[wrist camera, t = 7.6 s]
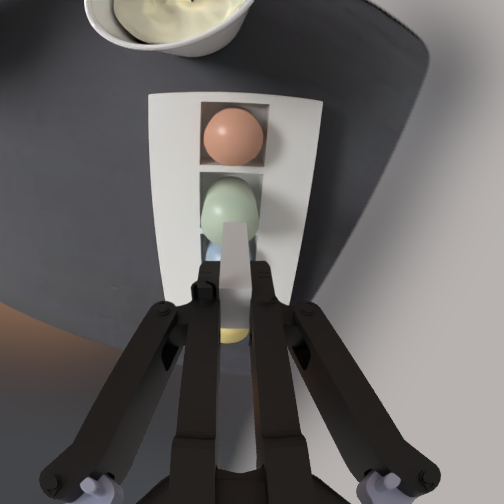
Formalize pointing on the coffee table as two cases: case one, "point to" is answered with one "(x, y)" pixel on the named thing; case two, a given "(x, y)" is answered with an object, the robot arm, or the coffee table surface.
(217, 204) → the pale green rounded piece
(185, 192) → the white slotted tray
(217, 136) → the orange rounded piece
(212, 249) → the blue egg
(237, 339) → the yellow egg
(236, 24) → the candle holder
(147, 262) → the coffee table surface
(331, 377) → the robot arm
